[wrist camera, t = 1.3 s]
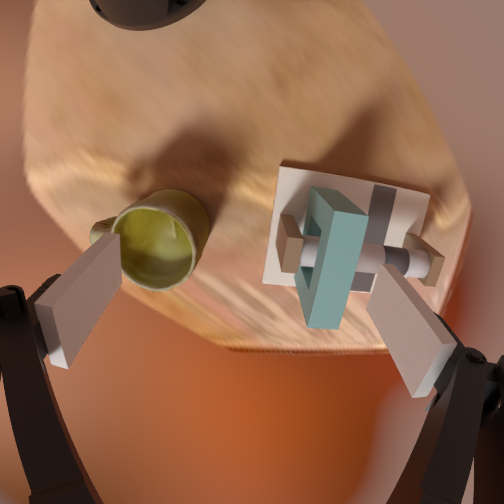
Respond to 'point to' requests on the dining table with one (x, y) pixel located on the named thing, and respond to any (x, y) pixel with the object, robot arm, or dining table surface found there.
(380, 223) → the pipe rail
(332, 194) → the collar
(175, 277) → the mug
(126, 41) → the dining table surface
